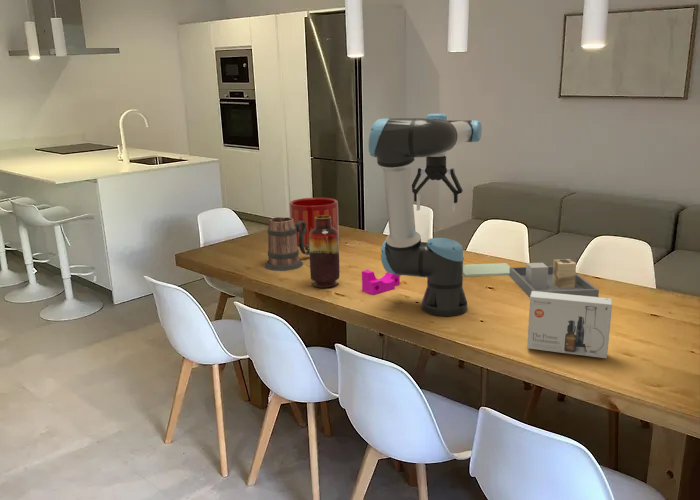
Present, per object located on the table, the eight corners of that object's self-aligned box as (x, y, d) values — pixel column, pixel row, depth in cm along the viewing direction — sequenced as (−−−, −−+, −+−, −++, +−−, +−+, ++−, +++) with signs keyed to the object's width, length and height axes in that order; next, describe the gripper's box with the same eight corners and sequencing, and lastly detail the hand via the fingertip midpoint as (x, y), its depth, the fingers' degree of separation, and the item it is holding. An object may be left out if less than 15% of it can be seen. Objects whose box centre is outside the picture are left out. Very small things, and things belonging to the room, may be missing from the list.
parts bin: (598, 299, 214) (598, 289, 213) (534, 302, 213) (534, 292, 213) (565, 274, 243) (566, 265, 242) (509, 276, 242) (509, 267, 242)
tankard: (279, 273, 253) (276, 225, 248) (255, 266, 266) (252, 219, 261) (324, 262, 268) (322, 216, 263) (300, 255, 281) (298, 211, 276)
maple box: (574, 287, 225) (576, 263, 223) (558, 288, 225) (559, 263, 223) (568, 282, 231) (570, 258, 229) (552, 283, 231) (553, 259, 229)
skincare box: (526, 349, 176) (529, 295, 172) (528, 342, 181) (531, 289, 177) (607, 359, 168) (612, 303, 164) (607, 351, 173) (612, 297, 169)
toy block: (372, 294, 226) (372, 274, 224) (362, 290, 231) (361, 271, 229) (404, 286, 234) (404, 267, 232) (393, 282, 239) (393, 263, 237)
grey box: (547, 288, 225) (548, 267, 223) (530, 289, 225) (531, 267, 223) (541, 283, 231) (542, 262, 229) (525, 284, 231) (526, 263, 229)
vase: (307, 282, 242) (304, 215, 235) (334, 278, 245) (332, 212, 239) (315, 290, 232) (313, 221, 225) (344, 286, 235) (342, 218, 229)
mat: (516, 275, 244) (516, 272, 243) (465, 277, 243) (465, 274, 243) (506, 265, 257) (506, 263, 257) (457, 267, 256) (457, 264, 256)
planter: (320, 251, 287) (319, 207, 282) (281, 245, 299) (279, 203, 294) (348, 240, 305) (347, 199, 300) (310, 235, 318) (308, 196, 313)
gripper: (470, 154, 237) (469, 210, 242) (406, 154, 245) (406, 207, 250) (467, 156, 230) (466, 213, 235) (401, 155, 238) (401, 211, 244)
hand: (435, 210), depth 243 cm, fingers open, 13 cm apart
